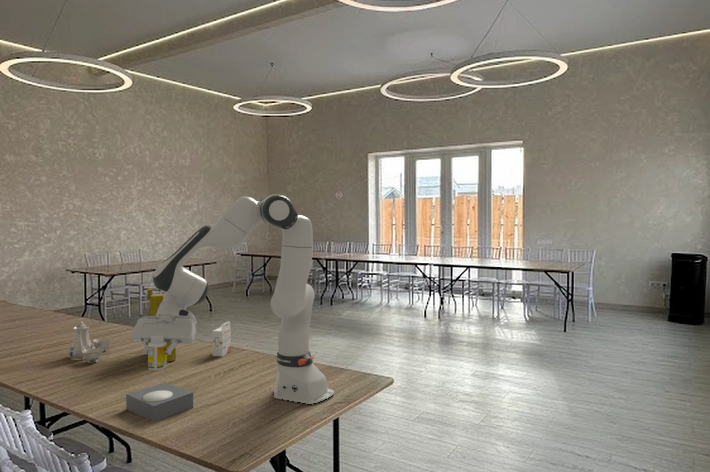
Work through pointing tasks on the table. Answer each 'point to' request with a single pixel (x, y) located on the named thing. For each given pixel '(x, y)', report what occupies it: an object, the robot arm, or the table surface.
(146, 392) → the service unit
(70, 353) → the chinaware
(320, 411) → the table surface
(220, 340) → the ink cartridge box
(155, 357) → the supplement bottle
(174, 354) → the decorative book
